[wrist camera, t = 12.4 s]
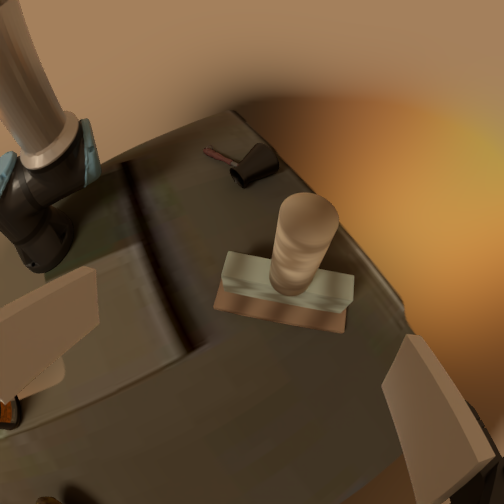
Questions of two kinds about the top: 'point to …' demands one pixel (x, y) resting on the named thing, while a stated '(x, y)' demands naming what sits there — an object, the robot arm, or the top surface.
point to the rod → (301, 241)
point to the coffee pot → (250, 164)
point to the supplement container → (10, 414)
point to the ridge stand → (280, 306)
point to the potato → (47, 500)
